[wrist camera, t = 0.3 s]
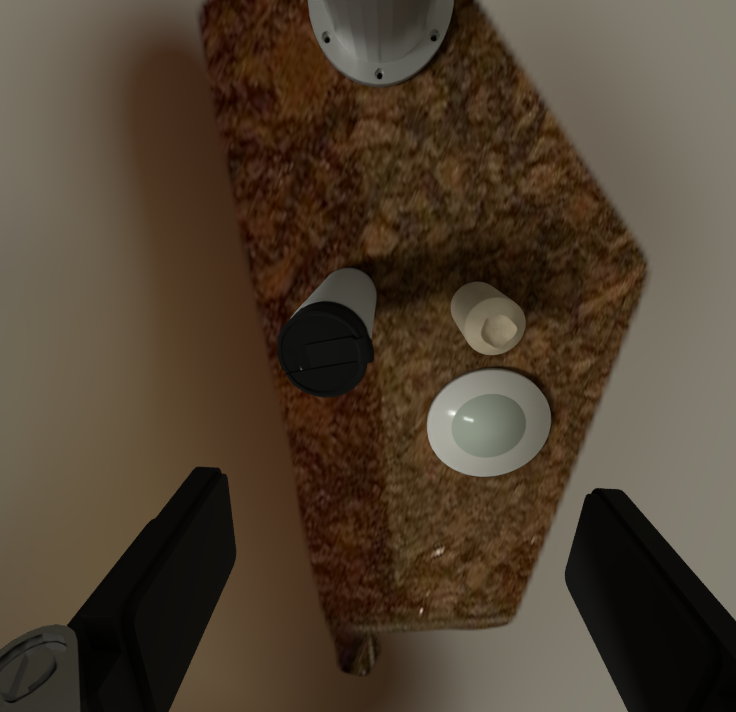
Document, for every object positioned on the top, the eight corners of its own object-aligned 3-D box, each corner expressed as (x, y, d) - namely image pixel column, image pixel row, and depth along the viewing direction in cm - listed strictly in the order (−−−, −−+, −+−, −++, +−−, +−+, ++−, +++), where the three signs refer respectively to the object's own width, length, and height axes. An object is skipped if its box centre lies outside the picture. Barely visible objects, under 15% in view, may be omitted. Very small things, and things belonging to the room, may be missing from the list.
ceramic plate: (430, 366, 45) (431, 369, 44) (557, 369, 45) (561, 372, 44) (423, 469, 51) (424, 474, 50) (537, 473, 50) (540, 478, 49)
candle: (501, 279, 41) (534, 299, 32) (498, 328, 43) (528, 359, 34) (450, 282, 42) (468, 302, 33) (449, 329, 44) (466, 361, 34)
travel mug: (384, 315, 44) (382, 393, 25) (329, 326, 44) (287, 410, 26) (373, 261, 41) (361, 301, 23) (315, 273, 42) (258, 322, 24)
